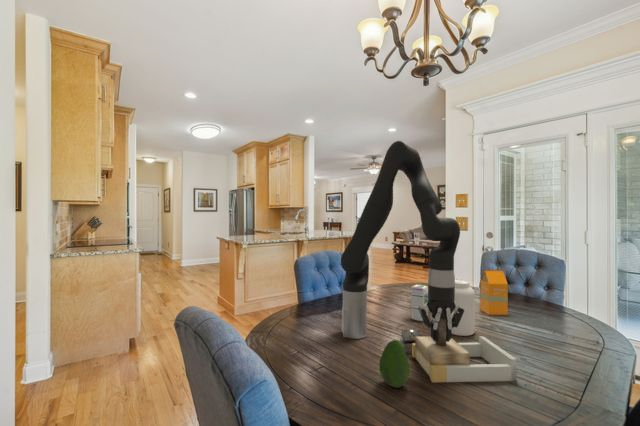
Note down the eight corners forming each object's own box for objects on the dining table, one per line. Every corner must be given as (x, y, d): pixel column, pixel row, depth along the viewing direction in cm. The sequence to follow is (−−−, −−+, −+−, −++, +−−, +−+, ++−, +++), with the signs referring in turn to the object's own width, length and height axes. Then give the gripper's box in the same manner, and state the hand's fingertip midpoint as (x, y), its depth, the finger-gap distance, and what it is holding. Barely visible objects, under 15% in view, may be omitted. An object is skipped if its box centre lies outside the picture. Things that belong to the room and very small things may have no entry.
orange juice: (507, 315, 142) (508, 272, 142) (488, 314, 142) (488, 271, 142) (498, 309, 150) (498, 269, 150) (480, 309, 150) (480, 268, 150)
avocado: (404, 377, 87) (404, 334, 87) (413, 393, 79) (413, 347, 79) (376, 377, 86) (376, 335, 86) (382, 394, 78) (383, 347, 78)
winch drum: (403, 352, 102) (404, 331, 102) (400, 347, 106) (400, 327, 106) (421, 352, 102) (421, 331, 102) (417, 347, 106) (417, 327, 106)
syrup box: (424, 321, 132) (424, 288, 132) (410, 319, 135) (411, 286, 135) (428, 318, 136) (428, 285, 136) (415, 315, 140) (415, 283, 140)
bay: (432, 382, 84) (432, 360, 84) (411, 355, 100) (412, 337, 100) (516, 380, 85) (516, 359, 85) (483, 354, 101) (483, 336, 101)
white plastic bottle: (479, 338, 115) (479, 284, 115) (443, 335, 117) (444, 283, 117) (469, 326, 127) (470, 278, 127) (438, 323, 130) (438, 276, 130)
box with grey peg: (430, 378, 86) (431, 325, 86) (415, 358, 98) (415, 311, 98) (469, 377, 86) (470, 324, 87) (449, 357, 99) (449, 311, 99)
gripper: (457, 280, 97) (457, 335, 96) (413, 281, 96) (413, 336, 96) (470, 286, 89) (470, 345, 89) (423, 286, 88) (422, 346, 88)
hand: (440, 340), depth 92 cm, fingers closed on box with grey peg, 3 cm apart
